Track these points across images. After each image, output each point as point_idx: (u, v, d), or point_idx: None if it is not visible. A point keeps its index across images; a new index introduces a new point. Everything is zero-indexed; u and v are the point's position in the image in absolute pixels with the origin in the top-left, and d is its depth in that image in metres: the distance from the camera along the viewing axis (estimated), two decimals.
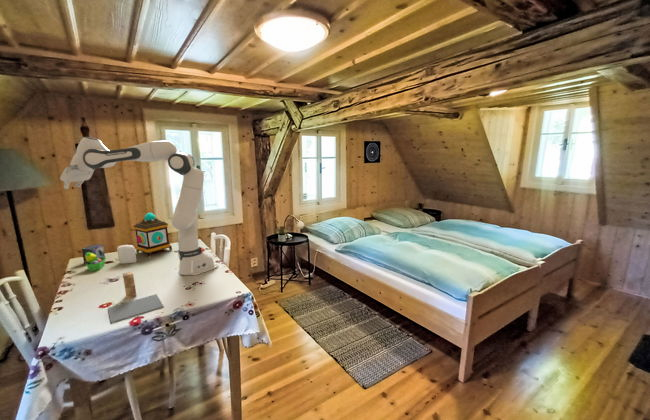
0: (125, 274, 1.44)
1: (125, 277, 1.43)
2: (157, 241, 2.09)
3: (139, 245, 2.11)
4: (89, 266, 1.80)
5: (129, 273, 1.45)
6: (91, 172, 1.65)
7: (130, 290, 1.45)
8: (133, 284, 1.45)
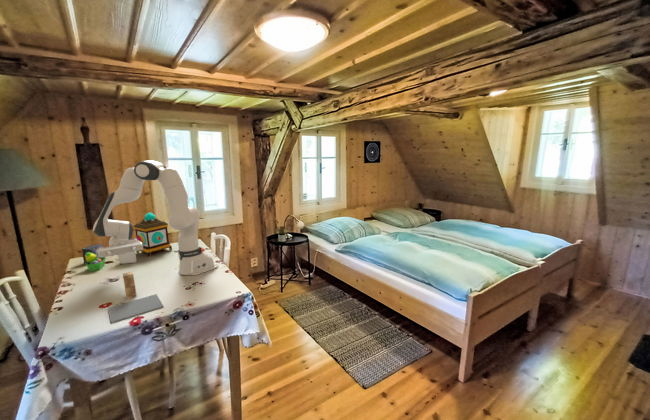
0: (125, 274, 1.44)
1: (125, 277, 1.43)
2: (157, 241, 2.09)
3: None
4: (89, 266, 1.80)
5: (129, 273, 1.45)
6: (136, 241, 1.65)
7: (130, 290, 1.45)
8: (133, 284, 1.45)
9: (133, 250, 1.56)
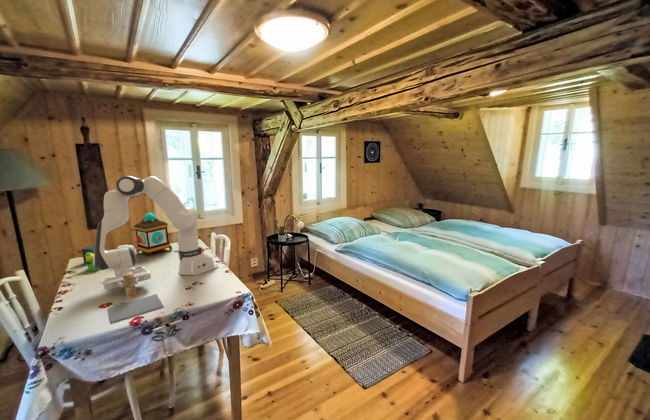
0: (125, 274, 1.44)
1: (125, 277, 1.43)
2: (157, 241, 2.09)
3: (139, 245, 2.11)
4: (89, 266, 1.80)
5: (129, 273, 1.45)
6: (143, 270, 1.57)
7: (130, 290, 1.45)
8: (133, 284, 1.45)
9: (136, 282, 1.47)
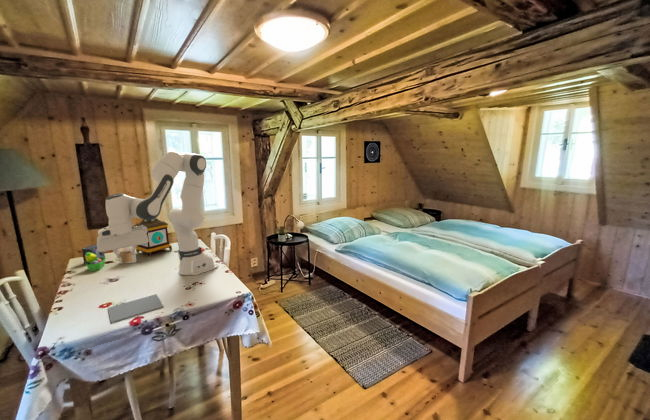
0: None
1: None
2: (157, 241, 2.09)
3: (139, 245, 2.11)
4: (89, 266, 1.80)
5: None
6: None
7: None
8: None
9: None
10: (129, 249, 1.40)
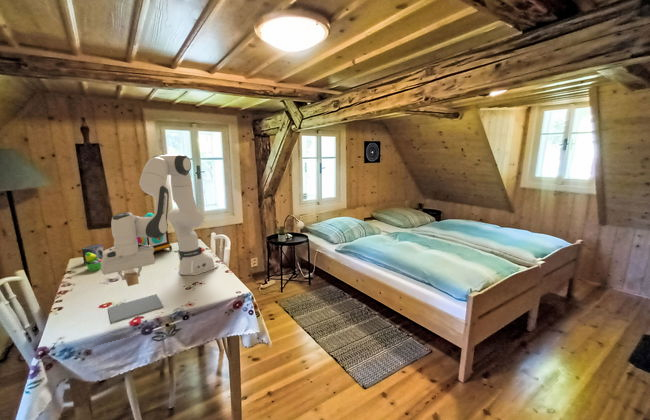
0: None
1: None
2: (157, 241, 2.09)
3: (139, 245, 2.11)
4: (89, 266, 1.80)
5: None
6: None
7: None
8: None
9: None
10: (134, 270, 1.33)
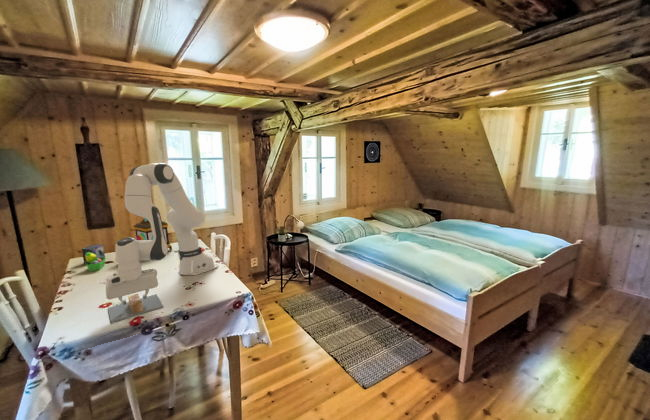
0: None
1: None
2: None
3: None
4: (89, 266, 1.80)
5: None
6: None
7: None
8: None
9: None
10: (139, 297, 1.36)
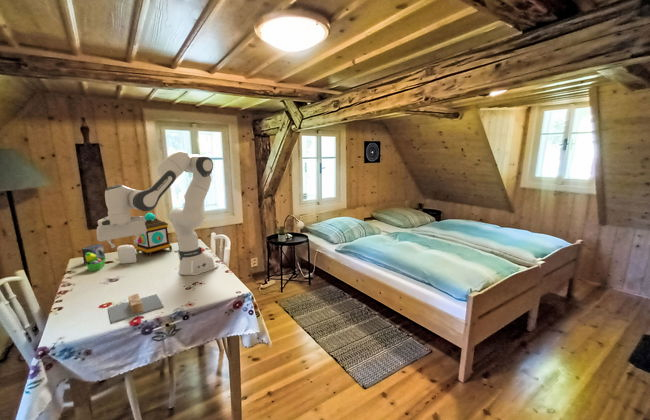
0: None
1: None
2: (157, 241, 2.09)
3: (139, 245, 2.11)
4: (89, 266, 1.80)
5: None
6: None
7: None
8: None
9: None
10: (139, 297, 1.36)
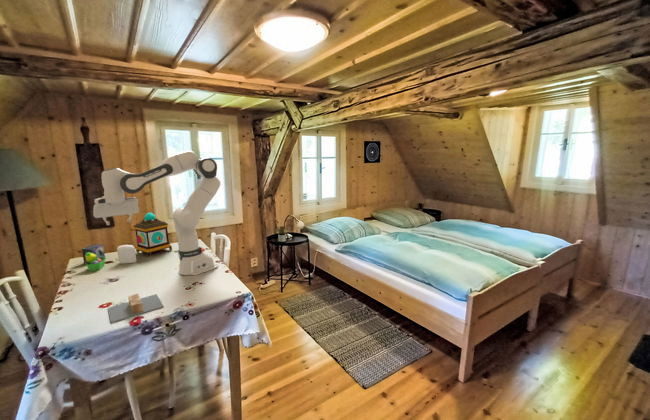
0: None
1: None
2: (157, 241, 2.09)
3: (139, 245, 2.11)
4: (89, 266, 1.80)
5: None
6: None
7: None
8: None
9: None
10: (139, 297, 1.36)
